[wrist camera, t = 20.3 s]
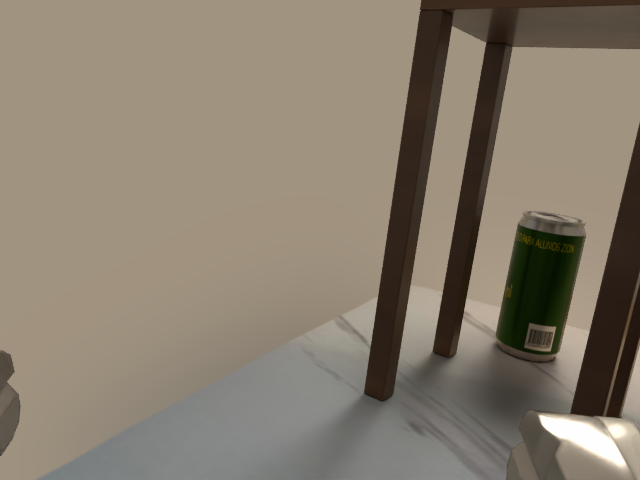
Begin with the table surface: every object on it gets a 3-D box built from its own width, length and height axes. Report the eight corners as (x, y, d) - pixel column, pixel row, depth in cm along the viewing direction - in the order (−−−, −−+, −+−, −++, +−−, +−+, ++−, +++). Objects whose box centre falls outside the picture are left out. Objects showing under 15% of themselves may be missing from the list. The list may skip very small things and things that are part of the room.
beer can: (570, 364, 46) (603, 226, 43) (511, 361, 45) (540, 220, 42) (537, 338, 51) (565, 213, 49) (483, 335, 50) (508, 208, 48)
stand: (583, 494, 29) (743, -139, 22) (363, 392, 37) (434, -95, 30) (621, 414, 38) (742, -48, 32) (440, 347, 46) (506, -32, 40)
